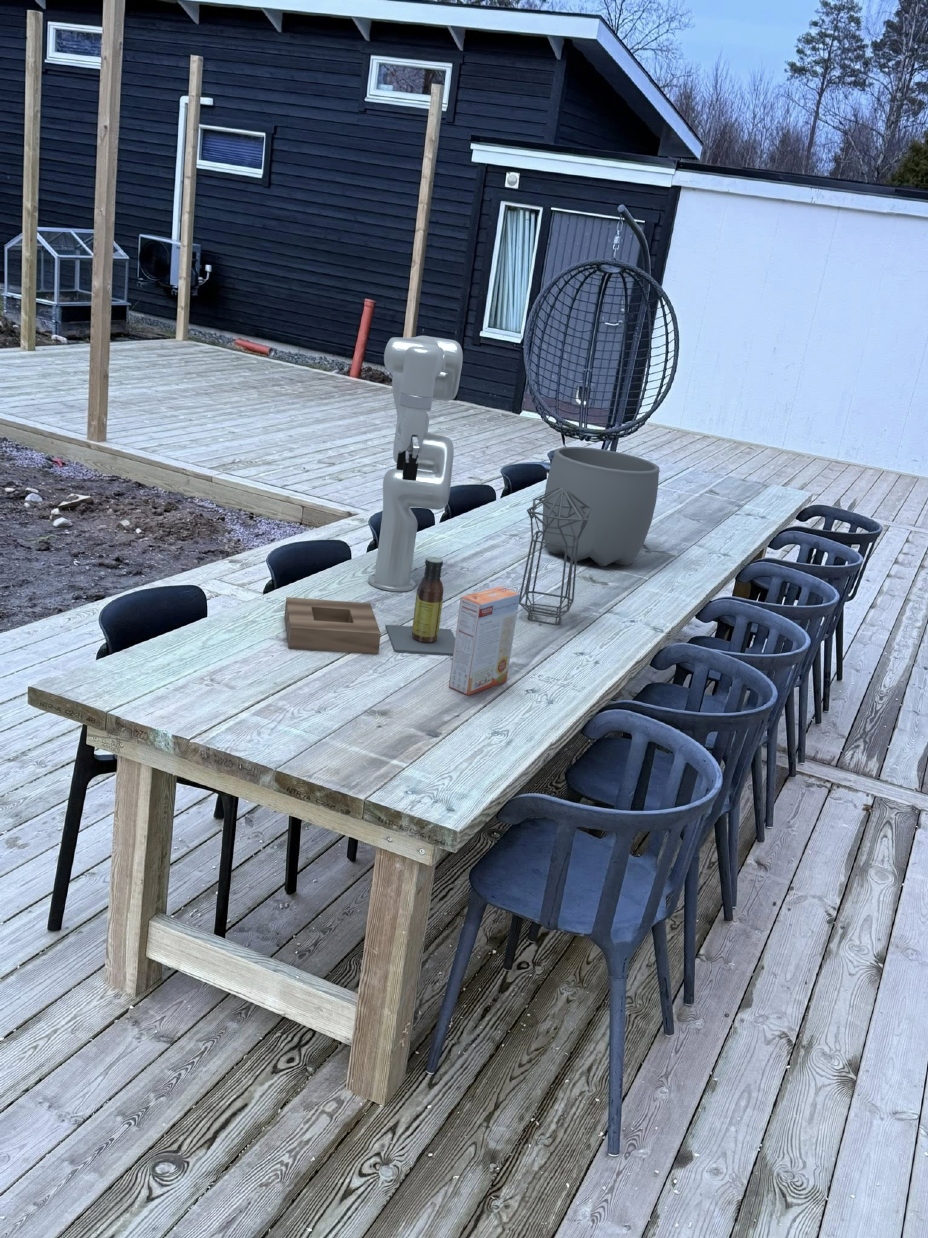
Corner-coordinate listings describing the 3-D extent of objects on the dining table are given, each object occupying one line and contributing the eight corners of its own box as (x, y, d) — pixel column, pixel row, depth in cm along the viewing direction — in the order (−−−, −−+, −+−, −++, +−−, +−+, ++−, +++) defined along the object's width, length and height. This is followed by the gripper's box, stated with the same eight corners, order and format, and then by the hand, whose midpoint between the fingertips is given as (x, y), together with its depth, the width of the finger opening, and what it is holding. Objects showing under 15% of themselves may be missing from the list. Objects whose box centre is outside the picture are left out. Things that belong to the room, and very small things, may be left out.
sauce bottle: (422, 632, 269) (434, 552, 263) (442, 640, 266) (455, 560, 259) (404, 637, 264) (416, 556, 258) (424, 646, 261) (436, 564, 254)
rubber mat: (385, 626, 271) (385, 624, 270) (450, 631, 274) (450, 629, 274) (394, 652, 256) (394, 649, 256) (462, 656, 260) (463, 654, 259)
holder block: (284, 616, 267) (286, 597, 265) (367, 622, 271) (370, 603, 270) (288, 648, 248) (290, 627, 247) (378, 654, 253) (380, 633, 251)
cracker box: (486, 673, 252) (500, 585, 245) (507, 682, 249) (522, 593, 242) (445, 686, 241) (459, 594, 234) (467, 696, 238) (482, 603, 231)
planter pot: (523, 555, 348) (540, 455, 338) (547, 533, 379) (563, 441, 369) (634, 580, 340) (655, 478, 330) (649, 556, 371) (669, 462, 360)
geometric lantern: (569, 633, 286) (591, 499, 274) (508, 622, 288) (527, 489, 277) (576, 614, 301) (596, 486, 289) (518, 604, 303) (536, 476, 291)
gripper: (394, 393, 265) (385, 464, 271) (404, 406, 249) (395, 482, 255) (425, 397, 267) (415, 468, 272) (438, 410, 251) (427, 485, 256)
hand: (405, 474), depth 263 cm, fingers open, 9 cm apart
